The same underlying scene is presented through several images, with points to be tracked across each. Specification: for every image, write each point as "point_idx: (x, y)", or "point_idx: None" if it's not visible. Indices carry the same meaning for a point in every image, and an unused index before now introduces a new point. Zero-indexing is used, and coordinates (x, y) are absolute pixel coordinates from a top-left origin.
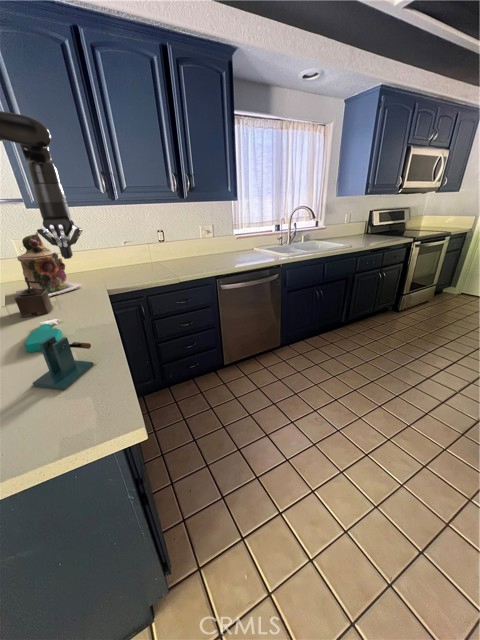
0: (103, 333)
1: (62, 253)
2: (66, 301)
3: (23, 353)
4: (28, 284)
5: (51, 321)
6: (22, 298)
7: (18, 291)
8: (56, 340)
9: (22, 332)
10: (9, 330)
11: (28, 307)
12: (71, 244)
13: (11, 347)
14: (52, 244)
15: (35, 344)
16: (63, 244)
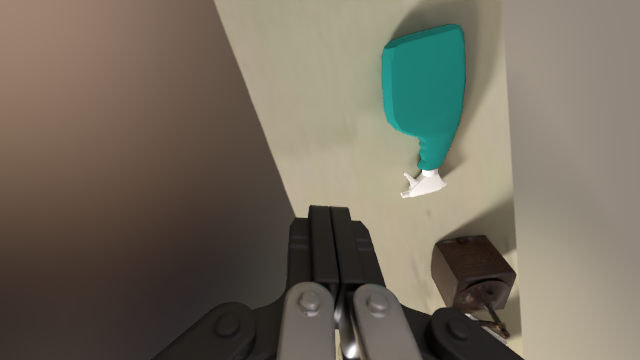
0: (278, 96)
1: (359, 243)
2: (405, 293)
3: (463, 27)
4: (494, 316)
5: (419, 183)
6: (497, 272)
7: (502, 342)
8: (388, 49)
9: (477, 157)
10: (504, 175)
11: (478, 253)
12: (229, 306)
13: (493, 76)
14: (461, 318)
15: (439, 31)
16: (332, 312)
